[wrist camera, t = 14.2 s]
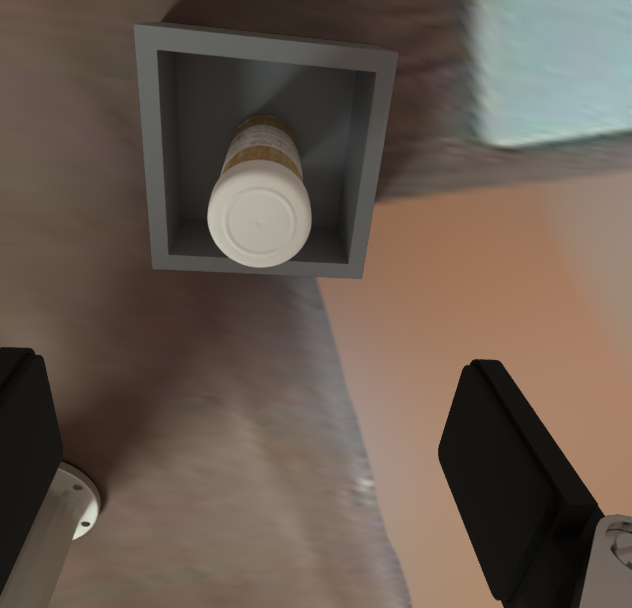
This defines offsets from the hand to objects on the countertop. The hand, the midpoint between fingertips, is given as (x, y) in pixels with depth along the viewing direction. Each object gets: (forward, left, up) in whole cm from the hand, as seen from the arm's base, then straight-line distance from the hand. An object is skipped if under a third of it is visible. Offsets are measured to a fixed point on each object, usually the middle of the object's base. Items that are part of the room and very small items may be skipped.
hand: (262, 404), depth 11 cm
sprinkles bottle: (0, 0, -25) cm, 25 cm away
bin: (0, 0, -26) cm, 26 cm away
